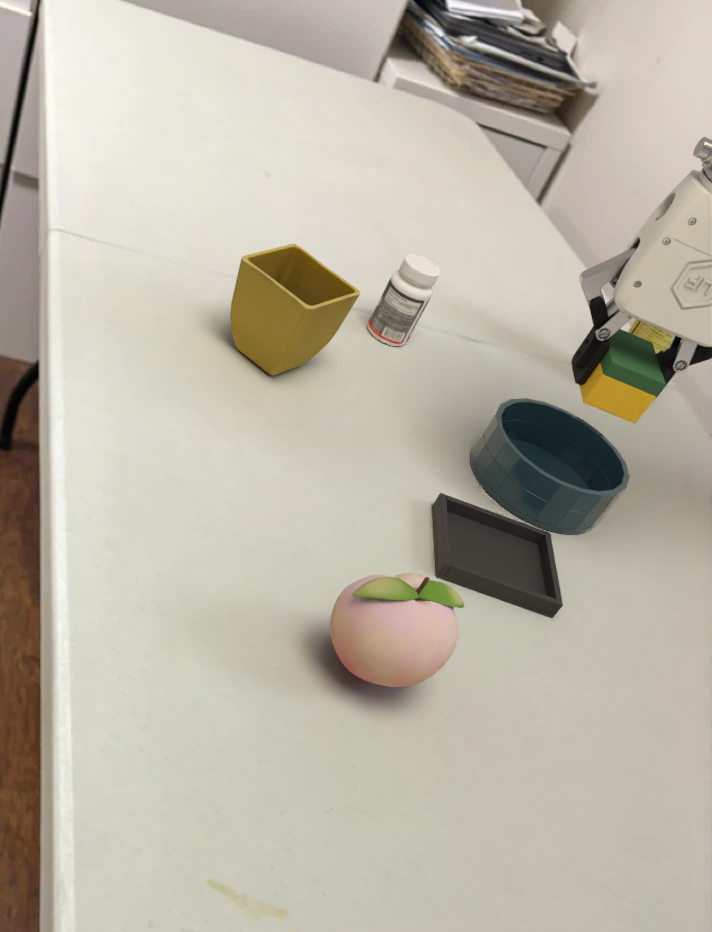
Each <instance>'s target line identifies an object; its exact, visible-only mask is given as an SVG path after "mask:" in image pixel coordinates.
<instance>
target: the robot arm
mask: <svg viewBox="0 0 712 932" xmlns="http://www.w3.org/2000/svg"><path fill="white" fill-rule="evenodd" d="M692 155H693V157H694V158H695V157H696V158H698V159H700V162H701V163H702V164H701V167H702V168H701V169H700V170H696V169H691V170H690V171H689V172H688V174H686V176H685V177H683V179H682V180H680V182H678V184H677V185H676V186H675V187H674V188H673V189H672V190H671V191H670V192H669V193H668V194H667V196H666V197H664V199H663V200H662V201H661V202H660V204H659V205H658V206H657V207H656V208H655V209H654V210H653V212H652V213H651V214H650V216H649V217H648V218H647V220H646V221H645V222H644V223H643V224H642V226H641V227H640V228H639V230H638V231H637V232H636V233H635V235H634V236H633V237H632V239H631V240H630V242H629V243H628V244H627V246H626V247H625V249H624V250H623V252H621V253H619V254H616V255H615V256H613V257H610V258H609V259H607V260H604V261H602V262H600V263H598V264H596V265H594V266H592V267H589V268H587V269H585V270H583V271H582V272H580V274H579V277H578V279H579V283H580V287H581V290H582V292H583V295H584V298H585V300H586V302H587V305H588V308H589V313H590V316H591V321H592V325H593V326H592V327H591V329H590V330H589V332H588V333H587V334H586V336H585V338H584V339H583V341H582V342H581V344H580V345H579V347H578V348H577V349H576V351H575V352H574V354H573V355H572V358H571V370H572V375H573V379H574V383H575V384H577V385H578V386H579V385H583V384H585V383H586V381H587V380H588V378H589V377H590V376H591V374H592V373H593V371H594V370H595V369H596V367H597V366H598V364H599V363H600V362H601V360H602V359H603V357H604V356H605V355H606V353H607V352H608V350H609V349H610V342H609V340H610V338H611V337H612V335H614V334H615V333H616V332H617V331H618V330H619V329H622V328H624V326H625V325H627V323H628V322H629V321H631V320H632V319H635V320H636V319H637V320H639V321H642V322H644V323H647V324H649V325H651V326H654V327H656V328H658V329H661V330H663V331H666V332H668V333H670V334H673V337H672V340H671V342H670V345H669V347H668V349H666V351H665V352H664V351H661V350H660V352H659V353H656V356H657V359H658V362H659V365H660V368H661V372H662V374H663V377H664V380H665V383H666V385H665V387H664V388H663V389H662V390H661V392H660V393H659V394H658V396H656V398H655V399H657V398H658V397H659V396H660V394H661V393H662V391H664V389H665V388H666V386H667V385H668V384H669V383H670V382H671V380H672V379H673V377H674V376H675V375H676V374H677V373H683V372H685V371H687V369H688V368H689V367H691V366H694V365H697V364H699V363H703V362H706V361H709V360H711V359H712V139H711V138H709V137H706V136H702V138H700V139H699V141H698V142H697V143H696V145H695V147H694V149H693V152H692ZM608 283H609V284H610V286H611V287H612V288H613V292H612V295H613V297H611V299H609V300H608V302H606V301H605V297H604V293H603V291H602V288H603V286H604V285H606V284H608ZM655 399H654V400H655Z"/></svg>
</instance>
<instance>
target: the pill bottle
mask: <svg viewBox="0 0 712 932" xmlns="http://www.w3.org/2000/svg"><path fill="white" fill-rule="evenodd" d="M440 274H441V271H440V268H439V267H438V266H437V265H436V263H434V262H433V261H431V260H430V259H428V258H427V257H424V256H422V255H419V254H415V253H408V254H406V255H405V256H404V259H403V260H402V262H401V264H400V266H399V269H398V270H396V271H394V272H393V273H392V275H391V276H390V278H389V280H388V282H387V284H386V286H385V288H384V290H383V292H382V293H381V296H380V298H379V300H378V302H377V304H376V306H375V308H374V310H373V312H372V314H371V316H370V318H369V320H368V322H367V329H368V331H369V333H370V334H371V335H372V336H373V337H374V338H375V339H376V340H377V341H379V340H380V341H379V342H380V343H383V344H385V343H386V344H385V345H387V346H390V347H391V346H392V347H402V346H404V345H406V344H407V343H408V341H409V339H410V338H411V335H412V334H413V332H414V330H415V328H416V326H417V325H418V322H419V320H420V319H421V317H422V315H423V313H424V311H425V310H426V308H427V306H428V304H429V302H430V300H431V298H432V297H433V292H434V289H433V286H434V285H435V284H436V283H437V281H438V278H439V276H440Z"/></svg>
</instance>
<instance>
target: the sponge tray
mask: <svg viewBox="0 0 712 932" xmlns="http://www.w3.org/2000/svg"><path fill="white" fill-rule="evenodd" d="M431 510H432V512H431V513H432V528H433V529H432V530H433V546H434V547H433V548H434V566H435V577H436V578H439V579H442V580H445V581H448V582H450V583H453V584H456V585H458V586H461V587H464V588H466V589H470V590H473V591H475V592H479V593H481V594H483V595H487V596H489V597H492V598H495V599H498V600H501V601H504V602H507V603H509V604H512V605H515V606H518V607H520V608H523V609H525V610H529V611H532V612H535V613H538V614H540V615H543V616H546V617H548V618H551V619H553V618H554V617H555V616H556V615H557V614H558V612H559V611H561V608H562V607H563V606H564V604H563V603H564V602H563V597H562V591H561V585H560V580H559V575H558V569H557V563H556V558H555V551H554V546H553V541H552V540H553V539H552V535H551V532H550V531H547V530H544V529H541V528H539V527H536V526H533V525H531V524H530V525H529V524H526V523H524V522H521V521H519V520H516V519H513V518H510V517H508V516H505V515H503V514H499V513H497V512H494V511H491V510H488V509H486V508H483V507H481V506H477V505H475V504H472V503H469V502H467V501H464V500H461V499H458V498H456V497H454V496H451V495H449V494H445V493H443V492H440V493H439V494H438V496H437V497H436V499H435V501H434V502H432V505H431Z"/></svg>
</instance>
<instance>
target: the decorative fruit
mask: <svg viewBox="0 0 712 932" xmlns="http://www.w3.org/2000/svg"><path fill="white" fill-rule="evenodd" d="M454 608H458V609H463V608H465V602H464V600H463V598H462V597H461V595H460V593H458V591H456V590H455V589H454V588H453V587H451V586H450V585H448V584H446V583H444V582H442V581H437V580H433V579H431V578H430V577H429V576H425V575H423V574H420V573H417V572H404V573H400V574H395V575H394V576H391V575H386V574H373V575H368V576H365V577H362V578H359V579H358V580H356V581H354V582H352V583H350V584H349V585H347V586H346V587H345V588H344V589H342V591H341V592H340V593H339V595H338V596H337V598H336V600H335V603H334V604H333V607H332V611H331V614H330V621H329V623H330V624H329V631H330V637H331V642H332V645H333V649H334V651H335V653H336V655H337V656H338V658H339V660H340V662H341V664H342V665H343V666H344V667H345V668H346V669H347V670H348V672H349V673H351V674H352V675H354V676H355V677H357V678H359V679H361V680H363V681H365V682H367V683H371V684H374V685H378V686H383V687H389V688H390V687H391V688H404V687H405V688H406V687H410V686H414V685H417V684H420V683H422V682H424V681H427V680H428V679H430V678H432V677H433V676H434V675H435V674H436V673H438V672H439V671H440V670H441V669H442V668H443V667H444V666H445V665H446V664H447V663H448V661H449V660H450V659H451V657H452V655H453V653H454V652H455V649H456V647H457V644H458V638H459V626H458V621H457V615H456V612H455V609H454Z"/></svg>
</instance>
